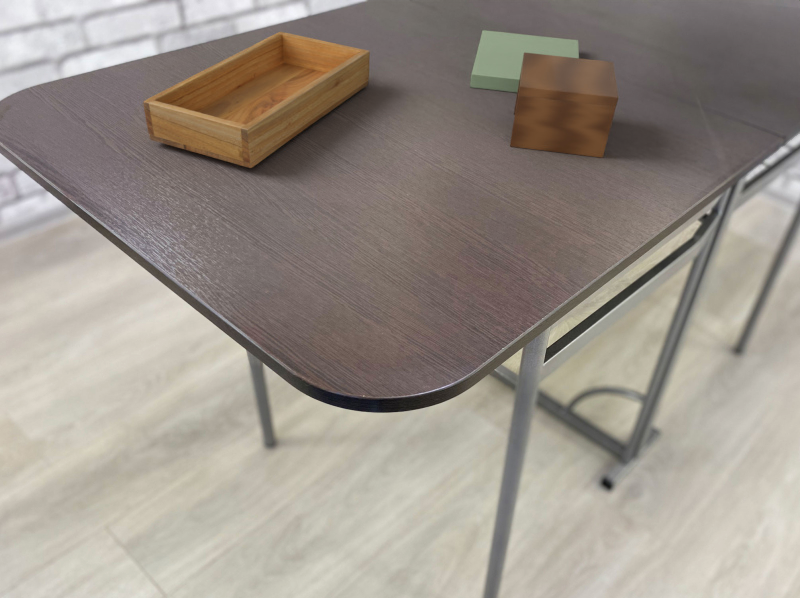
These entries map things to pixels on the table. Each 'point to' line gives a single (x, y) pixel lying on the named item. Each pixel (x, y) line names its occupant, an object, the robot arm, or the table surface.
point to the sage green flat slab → (512, 57)
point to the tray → (257, 98)
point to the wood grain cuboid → (564, 104)
